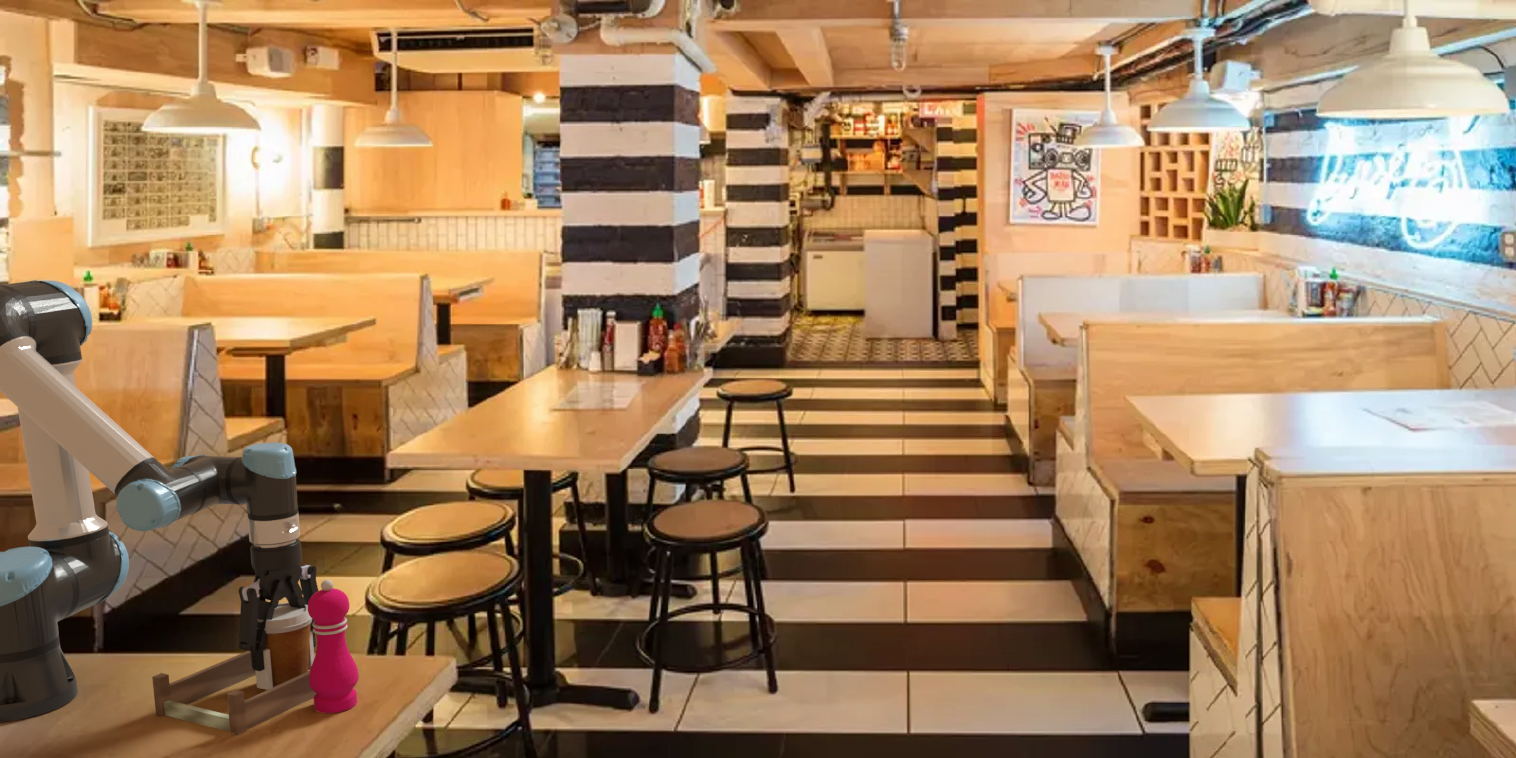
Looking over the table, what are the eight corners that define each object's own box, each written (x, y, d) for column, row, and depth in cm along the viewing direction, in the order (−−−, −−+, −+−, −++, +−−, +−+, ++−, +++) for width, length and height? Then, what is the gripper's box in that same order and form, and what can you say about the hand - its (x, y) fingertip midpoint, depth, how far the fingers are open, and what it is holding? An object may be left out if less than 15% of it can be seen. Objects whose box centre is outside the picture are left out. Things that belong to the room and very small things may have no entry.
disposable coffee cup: (297, 696, 197) (291, 622, 195) (242, 692, 199) (236, 619, 197) (329, 673, 206) (324, 602, 204) (277, 669, 208) (271, 600, 206)
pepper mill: (337, 692, 198) (328, 570, 195) (370, 701, 195) (362, 576, 192) (300, 709, 192) (290, 583, 189) (334, 718, 189) (324, 590, 185)
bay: (155, 714, 191) (152, 676, 190) (262, 667, 209) (259, 633, 208) (238, 735, 183) (234, 695, 182) (341, 684, 201) (338, 648, 200)
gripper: (238, 562, 188) (250, 706, 192) (342, 527, 206) (351, 659, 210) (203, 556, 191) (216, 698, 195) (308, 522, 210) (318, 652, 213)
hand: (286, 678), depth 202 cm, fingers closed on disposable coffee cup, 8 cm apart
